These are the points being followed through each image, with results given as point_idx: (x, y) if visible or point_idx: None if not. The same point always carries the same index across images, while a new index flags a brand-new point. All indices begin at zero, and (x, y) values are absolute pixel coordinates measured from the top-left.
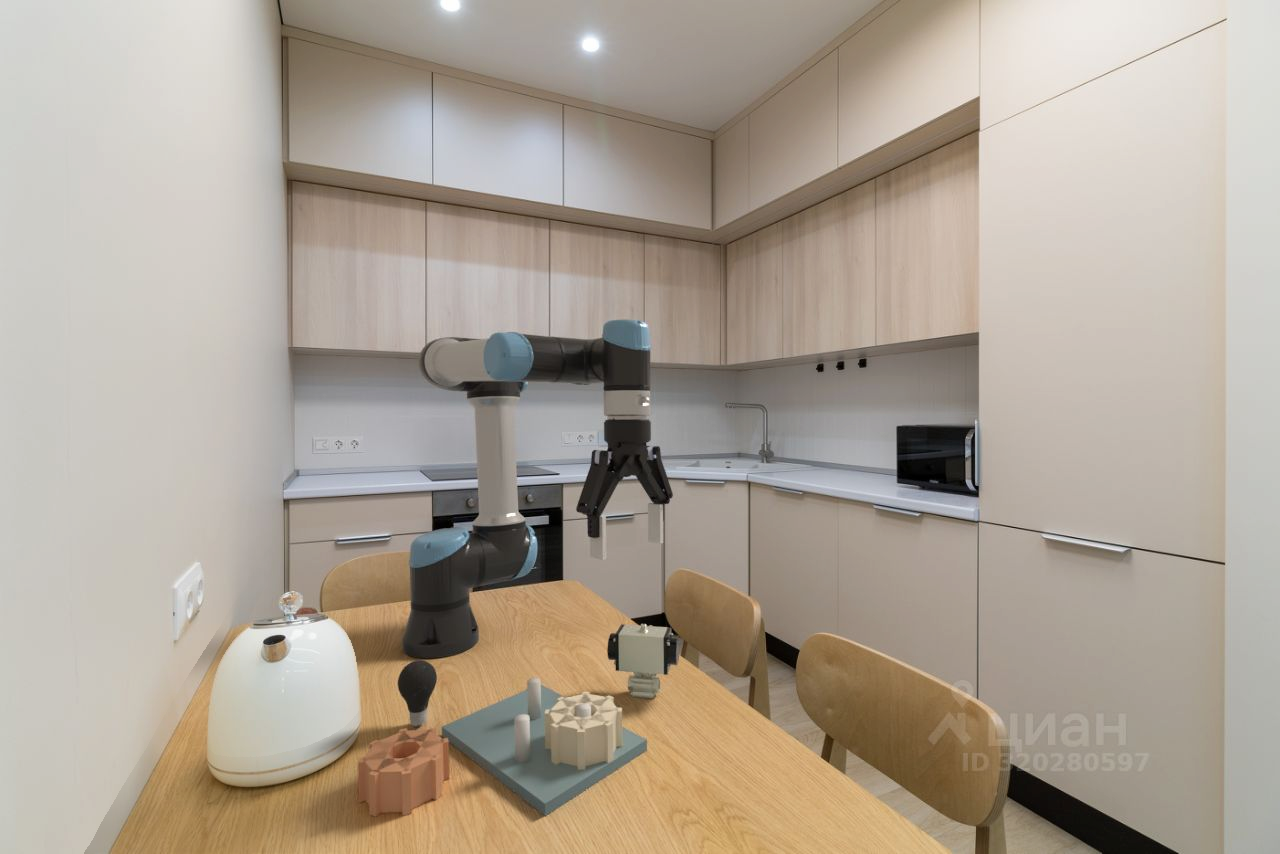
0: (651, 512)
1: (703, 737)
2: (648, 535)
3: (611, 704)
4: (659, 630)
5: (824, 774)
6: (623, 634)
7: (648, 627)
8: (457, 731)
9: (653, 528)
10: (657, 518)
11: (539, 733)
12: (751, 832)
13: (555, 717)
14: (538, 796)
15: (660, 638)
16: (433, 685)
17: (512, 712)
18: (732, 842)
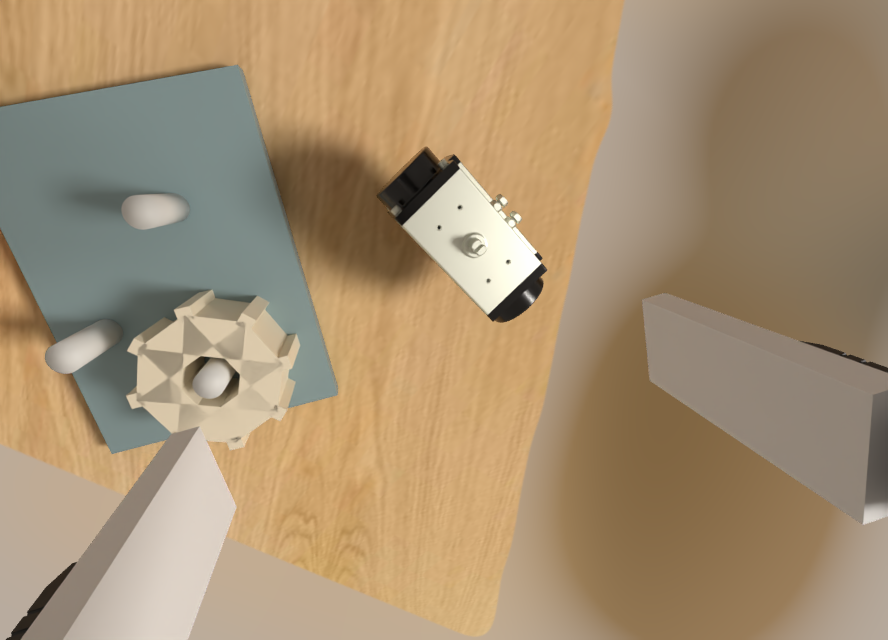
0: (792, 400)
1: (436, 404)
2: (663, 312)
3: (273, 390)
4: (509, 269)
5: (505, 539)
6: (413, 234)
7: (500, 232)
8: None
9: (699, 368)
10: (758, 432)
11: (164, 274)
12: (353, 573)
13: (144, 376)
14: (106, 435)
15: (481, 308)
16: None
17: (130, 160)
18: (324, 575)
